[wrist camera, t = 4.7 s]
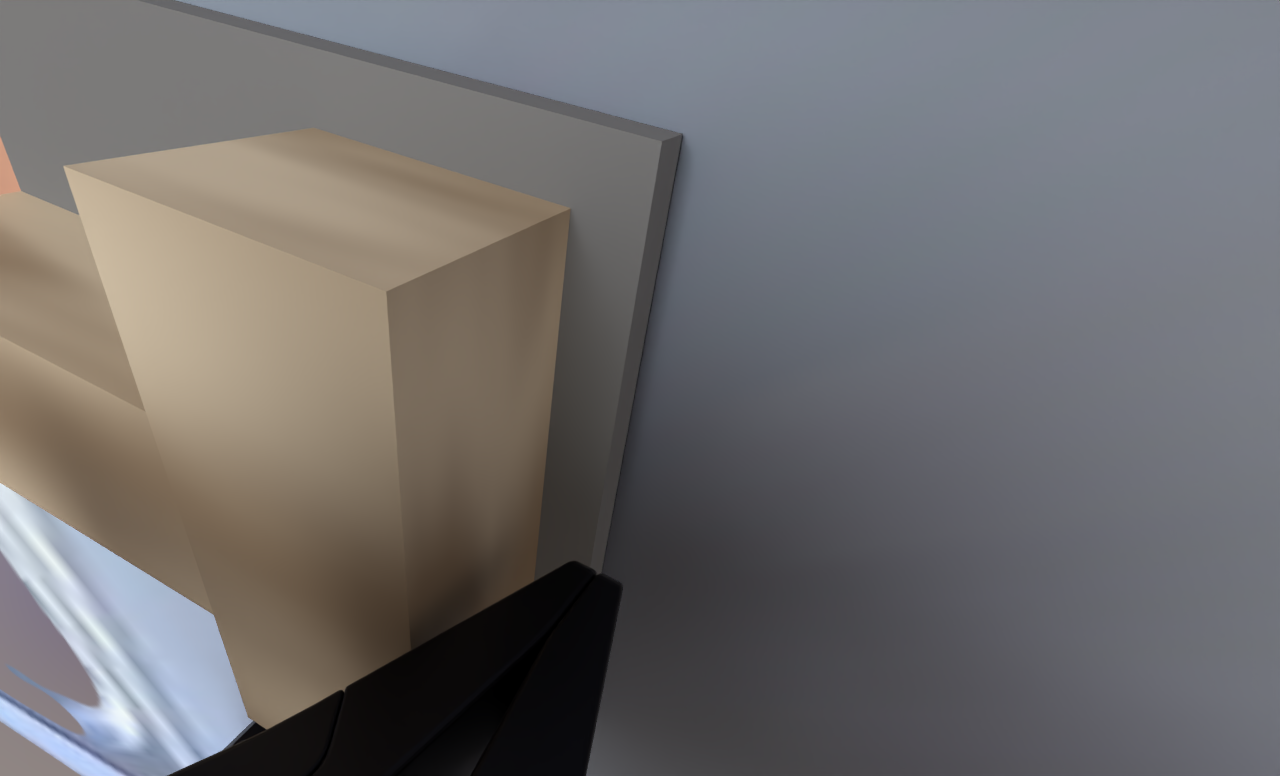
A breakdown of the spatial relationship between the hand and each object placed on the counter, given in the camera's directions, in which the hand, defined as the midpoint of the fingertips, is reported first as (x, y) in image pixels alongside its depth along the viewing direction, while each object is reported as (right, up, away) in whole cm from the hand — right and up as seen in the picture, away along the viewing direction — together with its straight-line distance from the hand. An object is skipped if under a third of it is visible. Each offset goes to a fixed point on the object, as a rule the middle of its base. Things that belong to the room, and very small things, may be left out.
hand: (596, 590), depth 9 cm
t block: (-6, +3, +3) cm, 8 cm away
